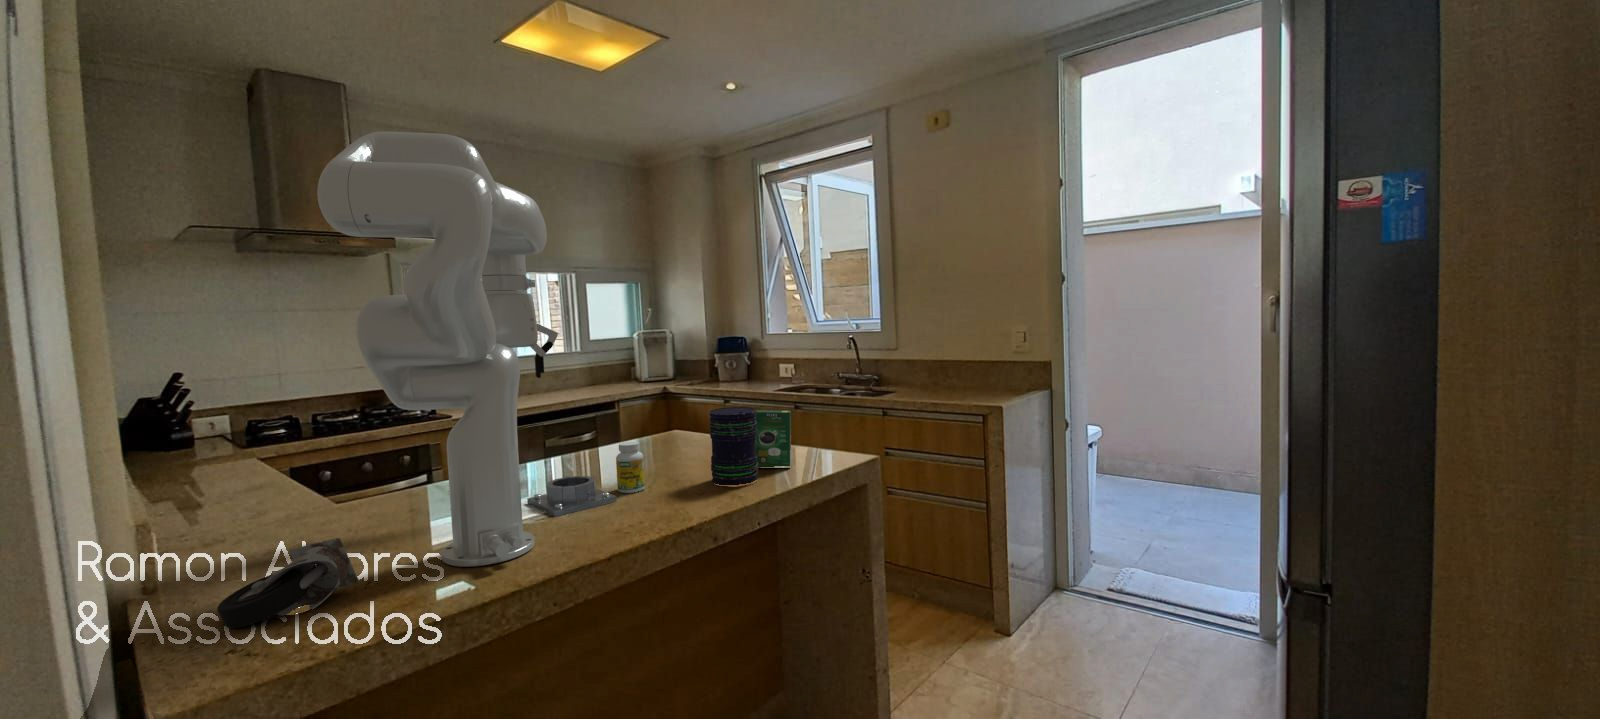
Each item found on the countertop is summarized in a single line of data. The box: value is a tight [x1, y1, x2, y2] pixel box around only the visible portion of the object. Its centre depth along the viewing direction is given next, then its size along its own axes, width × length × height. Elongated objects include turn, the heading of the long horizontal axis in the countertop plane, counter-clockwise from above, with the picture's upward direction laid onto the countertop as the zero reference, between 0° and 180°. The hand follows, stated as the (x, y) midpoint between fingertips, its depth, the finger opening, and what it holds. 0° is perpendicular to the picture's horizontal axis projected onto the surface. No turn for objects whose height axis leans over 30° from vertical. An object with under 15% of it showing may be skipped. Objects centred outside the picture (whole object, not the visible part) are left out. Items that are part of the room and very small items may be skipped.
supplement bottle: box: [615, 441, 646, 494], centre depth 128 cm, size 5×5×10 cm
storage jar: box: [709, 406, 759, 485], centre depth 133 cm, size 10×10×15 cm
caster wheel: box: [217, 537, 360, 629], centre depth 78 cm, size 7×11×10 cm
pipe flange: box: [526, 475, 618, 518], centre depth 121 cm, size 12×12×4 cm
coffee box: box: [755, 409, 792, 467], centre depth 143 cm, size 8×3×13 cm, turn 85°
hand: (510, 379), depth 118 cm, fingers open, 9 cm apart
